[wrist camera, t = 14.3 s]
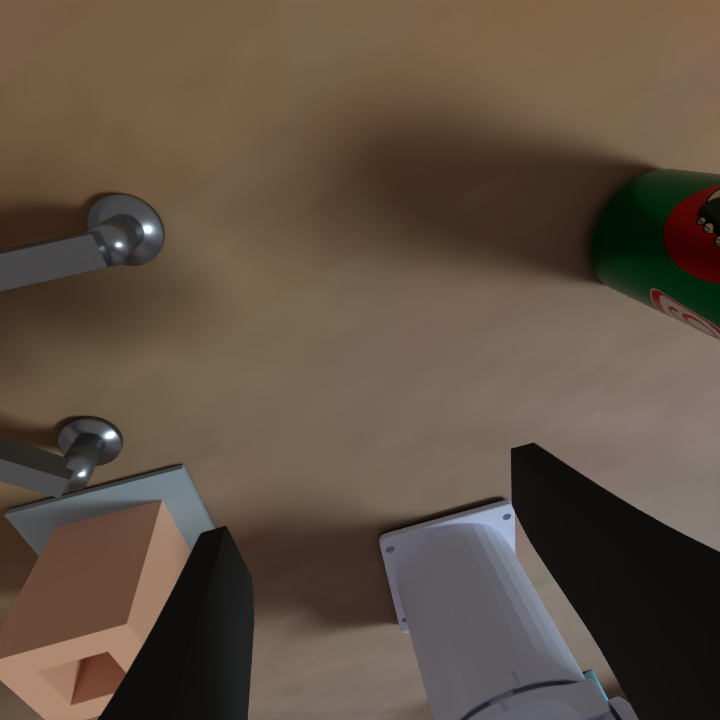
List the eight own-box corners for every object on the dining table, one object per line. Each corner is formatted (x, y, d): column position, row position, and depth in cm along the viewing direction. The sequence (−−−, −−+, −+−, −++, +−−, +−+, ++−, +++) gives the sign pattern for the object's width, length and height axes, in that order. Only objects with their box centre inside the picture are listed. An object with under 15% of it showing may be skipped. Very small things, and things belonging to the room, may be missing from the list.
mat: (237, 570, 25) (236, 575, 24) (91, 611, 24) (89, 616, 24) (183, 464, 21) (182, 468, 20) (7, 509, 20) (3, 515, 20)
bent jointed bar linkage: (242, 425, 20) (238, 469, 18) (-1, 487, 19) (-42, 543, 17) (147, 186, 15) (122, 199, 13) (-186, 258, 14) (-286, 288, 12)
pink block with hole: (199, 566, 23) (179, 692, 18) (103, 591, 23) (55, 728, 18) (162, 499, 21) (126, 624, 16) (54, 527, 21) (-19, 664, 15)
